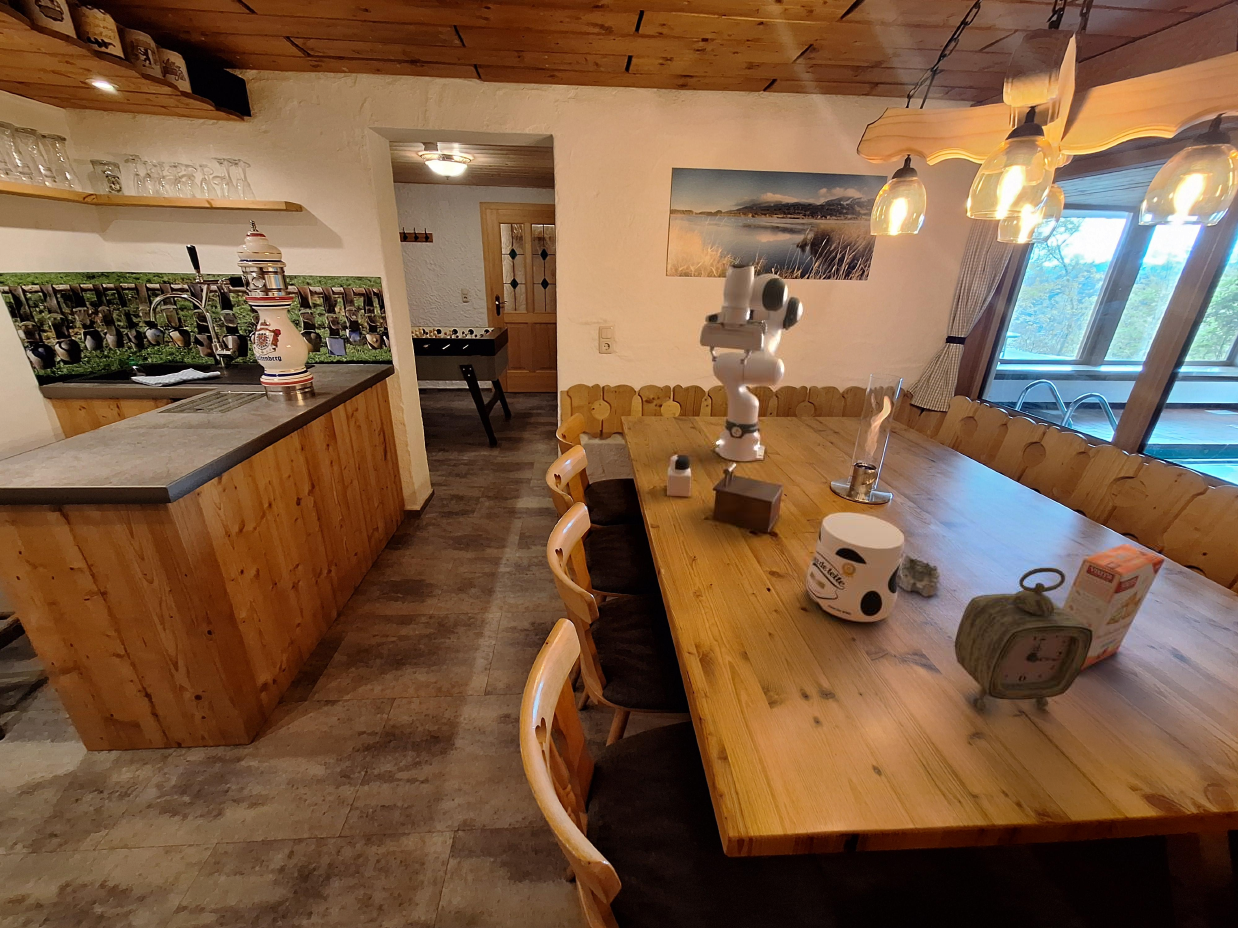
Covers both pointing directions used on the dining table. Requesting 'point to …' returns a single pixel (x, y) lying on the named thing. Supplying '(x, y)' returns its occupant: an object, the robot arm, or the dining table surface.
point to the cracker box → (1111, 595)
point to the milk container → (856, 567)
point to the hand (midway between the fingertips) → (728, 363)
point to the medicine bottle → (679, 476)
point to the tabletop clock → (1021, 644)
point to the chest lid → (747, 487)
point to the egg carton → (918, 576)
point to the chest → (746, 511)
